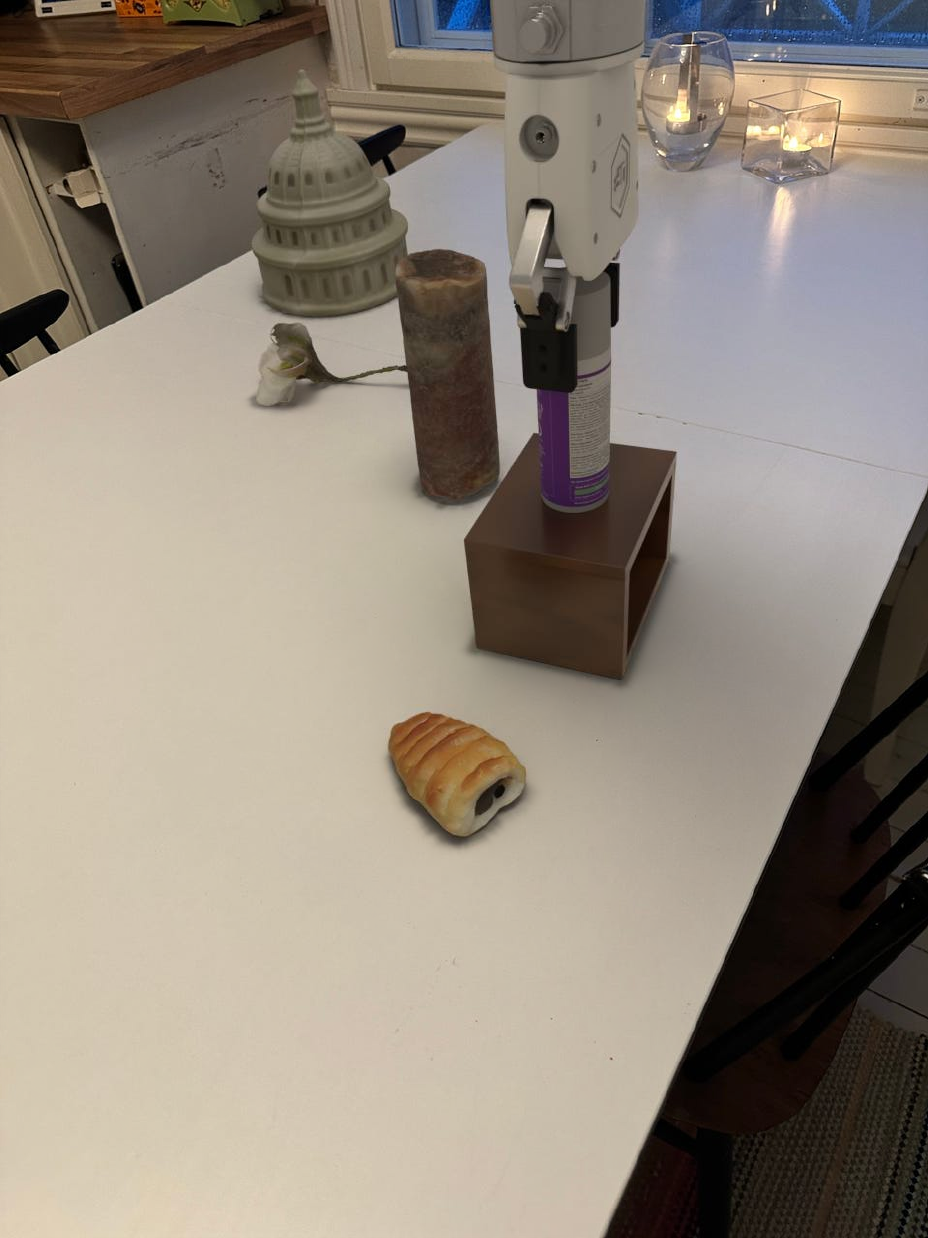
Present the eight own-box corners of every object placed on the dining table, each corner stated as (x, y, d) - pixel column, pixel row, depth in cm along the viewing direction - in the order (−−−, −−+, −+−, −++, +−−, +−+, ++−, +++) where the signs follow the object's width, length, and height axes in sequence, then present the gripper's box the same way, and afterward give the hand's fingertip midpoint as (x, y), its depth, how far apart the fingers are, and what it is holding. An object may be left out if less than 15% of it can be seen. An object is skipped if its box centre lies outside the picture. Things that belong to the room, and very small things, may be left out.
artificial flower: (455, 419, 96) (426, 344, 88) (263, 432, 103) (220, 364, 95) (469, 359, 100) (443, 282, 92) (284, 375, 107) (245, 305, 99)
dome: (322, 42, 116) (423, 58, 104) (356, 243, 133) (446, 277, 120) (180, 79, 107) (271, 101, 95) (235, 290, 124) (318, 332, 112)
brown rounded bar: (468, 450, 88) (446, 238, 75) (519, 479, 84) (506, 259, 71) (404, 483, 85) (370, 267, 72) (454, 515, 81) (428, 291, 67)
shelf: (669, 559, 74) (677, 451, 67) (621, 680, 64) (625, 568, 58) (538, 536, 77) (533, 432, 71) (475, 648, 68) (463, 539, 61)
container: (529, 486, 65) (518, 277, 55) (588, 467, 66) (588, 258, 56) (560, 521, 62) (554, 304, 52) (621, 500, 63) (627, 284, 53)
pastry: (365, 766, 61) (356, 727, 58) (442, 711, 64) (436, 671, 61) (460, 851, 55) (455, 812, 53) (540, 786, 58) (538, 746, 56)
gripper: (589, 66, 39) (590, 433, 50) (683, -13, 50) (666, 301, 62) (426, 69, 41) (463, 417, 53) (551, -7, 53) (559, 293, 64)
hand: (573, 353), depth 57 cm, fingers open, 8 cm apart
